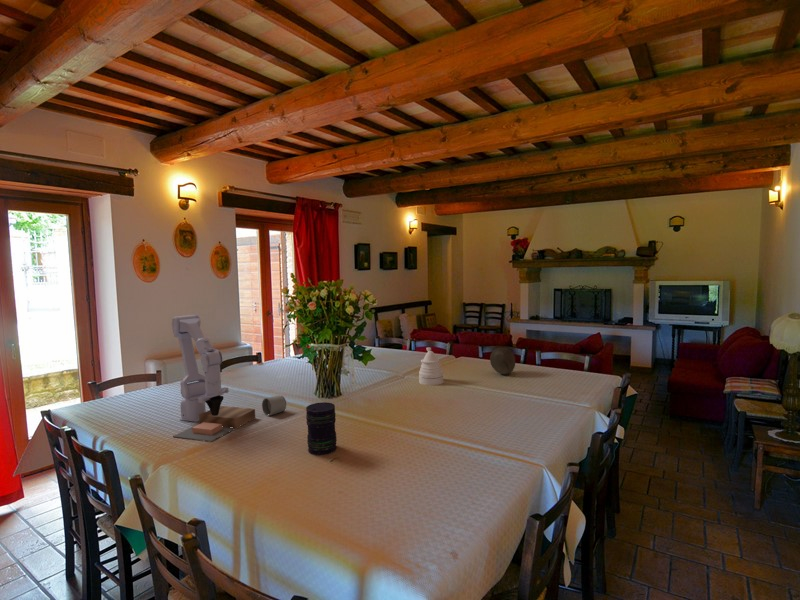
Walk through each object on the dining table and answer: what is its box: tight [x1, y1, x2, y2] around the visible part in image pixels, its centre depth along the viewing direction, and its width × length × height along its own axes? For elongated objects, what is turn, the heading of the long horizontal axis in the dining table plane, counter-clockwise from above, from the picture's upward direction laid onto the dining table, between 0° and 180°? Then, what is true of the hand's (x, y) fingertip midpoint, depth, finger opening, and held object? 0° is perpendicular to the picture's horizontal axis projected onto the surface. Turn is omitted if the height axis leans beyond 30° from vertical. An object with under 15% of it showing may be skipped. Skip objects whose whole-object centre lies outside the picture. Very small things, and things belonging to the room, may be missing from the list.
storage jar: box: [305, 401, 337, 456], centre depth 149 cm, size 10×10×15 cm
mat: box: [172, 423, 236, 442], centre depth 168 cm, size 18×13×1 cm
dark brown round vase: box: [489, 347, 516, 376], centre depth 243 cm, size 14×14×15 cm
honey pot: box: [418, 347, 444, 386], centre depth 231 cm, size 13×13×18 cm
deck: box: [198, 405, 256, 429], centre depth 180 cm, size 18×12×4 cm, turn 72°
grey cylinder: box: [261, 395, 287, 417], centre depth 190 cm, size 11×8×8 cm
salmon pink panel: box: [191, 422, 222, 435], centre depth 169 cm, size 9×6×2 cm, turn 72°
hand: (215, 415), depth 174 cm, fingers closed
